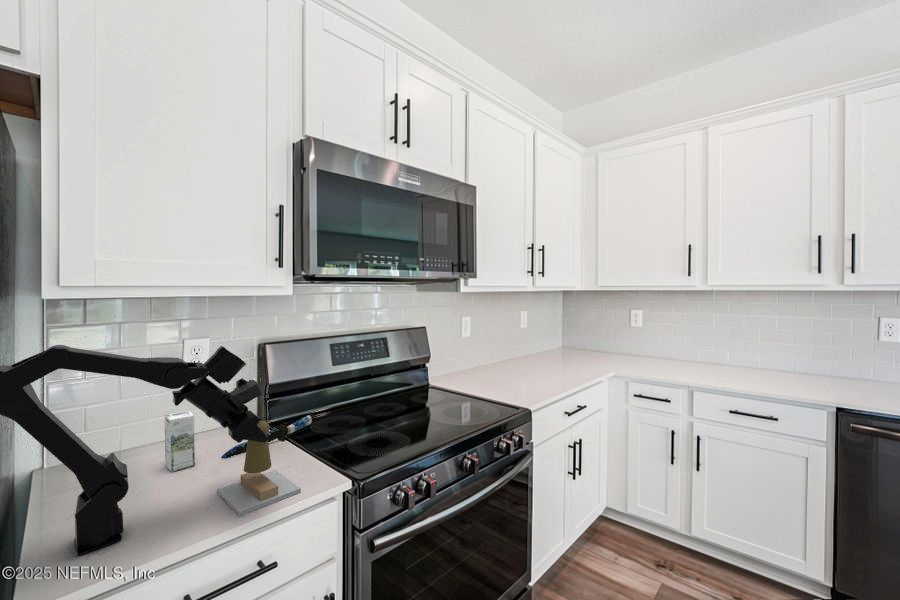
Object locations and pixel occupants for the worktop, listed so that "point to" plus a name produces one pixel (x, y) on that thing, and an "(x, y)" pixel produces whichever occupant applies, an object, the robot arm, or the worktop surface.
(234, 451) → the knife
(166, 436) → the syrup box
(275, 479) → the ridge board
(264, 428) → the olive pepper mill
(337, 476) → the worktop surface
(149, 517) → the worktop surface
